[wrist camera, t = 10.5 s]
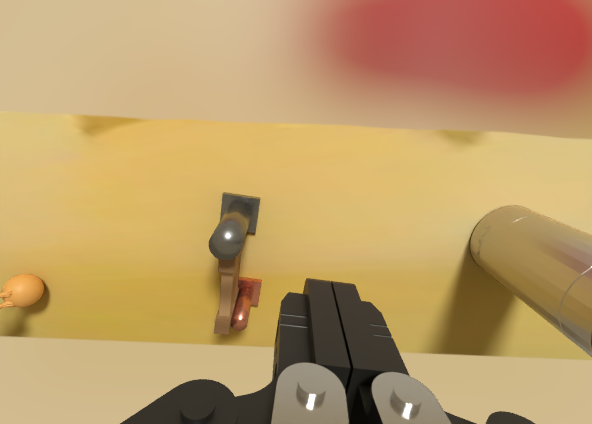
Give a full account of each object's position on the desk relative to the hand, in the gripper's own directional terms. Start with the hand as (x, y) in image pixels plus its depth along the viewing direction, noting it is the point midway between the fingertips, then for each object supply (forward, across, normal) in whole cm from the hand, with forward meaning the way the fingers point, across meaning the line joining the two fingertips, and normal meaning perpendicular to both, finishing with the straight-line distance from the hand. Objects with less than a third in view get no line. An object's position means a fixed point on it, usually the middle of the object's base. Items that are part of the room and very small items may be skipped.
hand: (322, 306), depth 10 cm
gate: (+28, +6, +14) cm, 31 cm away
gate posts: (+29, +5, +12) cm, 31 cm away
